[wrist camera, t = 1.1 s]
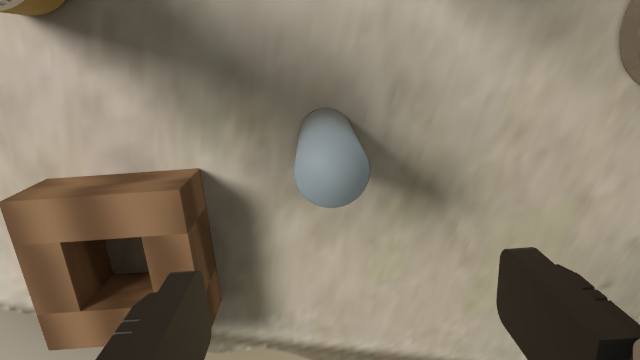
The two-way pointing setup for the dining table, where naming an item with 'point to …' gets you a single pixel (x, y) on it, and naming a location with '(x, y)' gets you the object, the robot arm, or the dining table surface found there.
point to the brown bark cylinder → (29, 6)
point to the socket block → (90, 252)
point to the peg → (330, 160)
